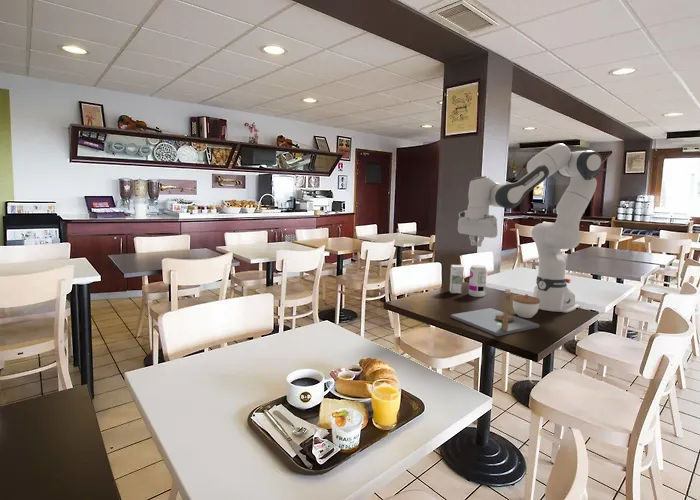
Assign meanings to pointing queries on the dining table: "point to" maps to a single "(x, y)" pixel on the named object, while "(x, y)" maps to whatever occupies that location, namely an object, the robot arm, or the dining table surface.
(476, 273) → the supplement can
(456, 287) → the syrup box
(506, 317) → the tuning key
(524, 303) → the lidded jar
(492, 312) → the board
